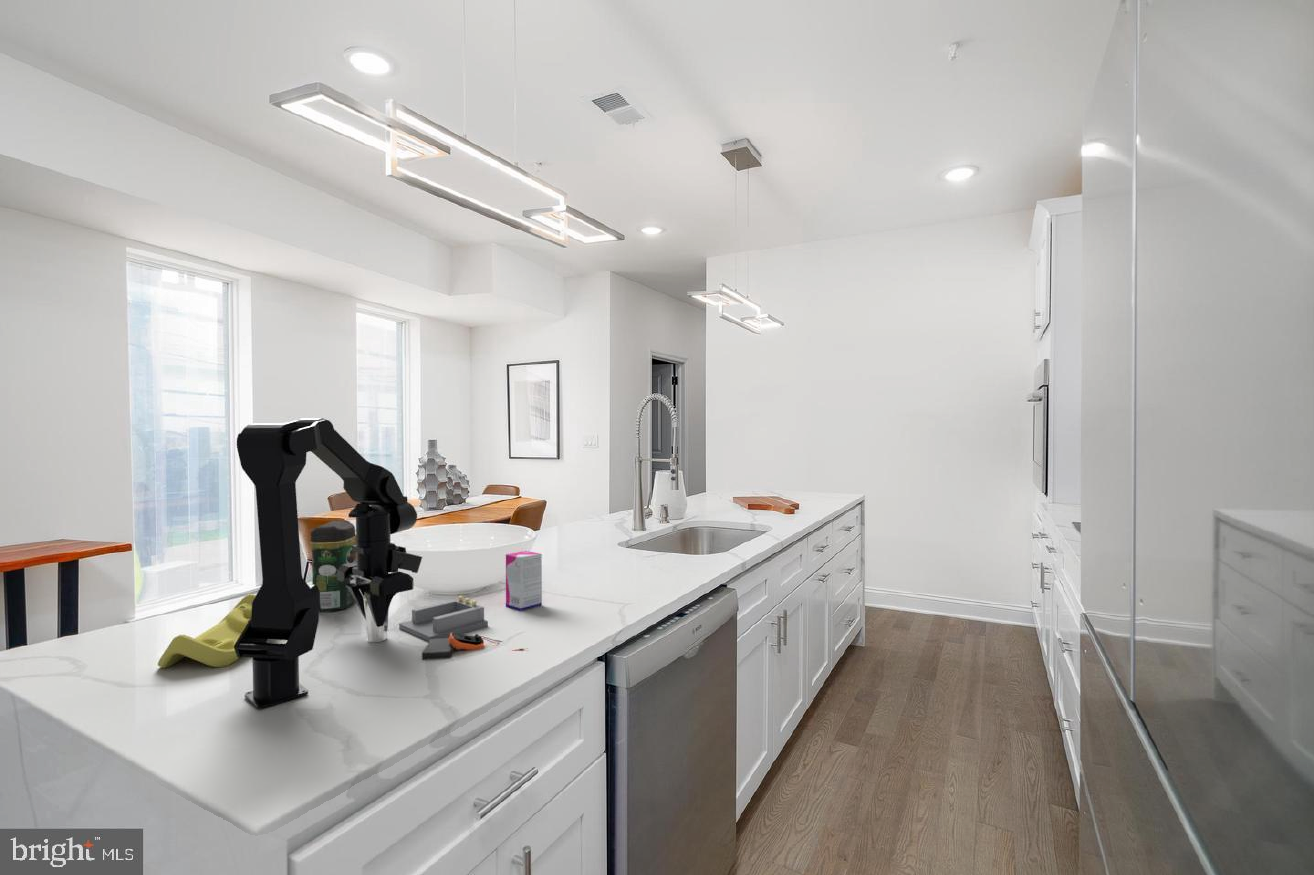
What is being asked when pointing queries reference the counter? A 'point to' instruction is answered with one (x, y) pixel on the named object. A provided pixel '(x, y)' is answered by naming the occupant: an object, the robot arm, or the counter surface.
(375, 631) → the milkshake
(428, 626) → the header socket
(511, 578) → the supplement box
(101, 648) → the counter surface
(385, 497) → the robot arm
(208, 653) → the plastic component
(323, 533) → the coffee jar
